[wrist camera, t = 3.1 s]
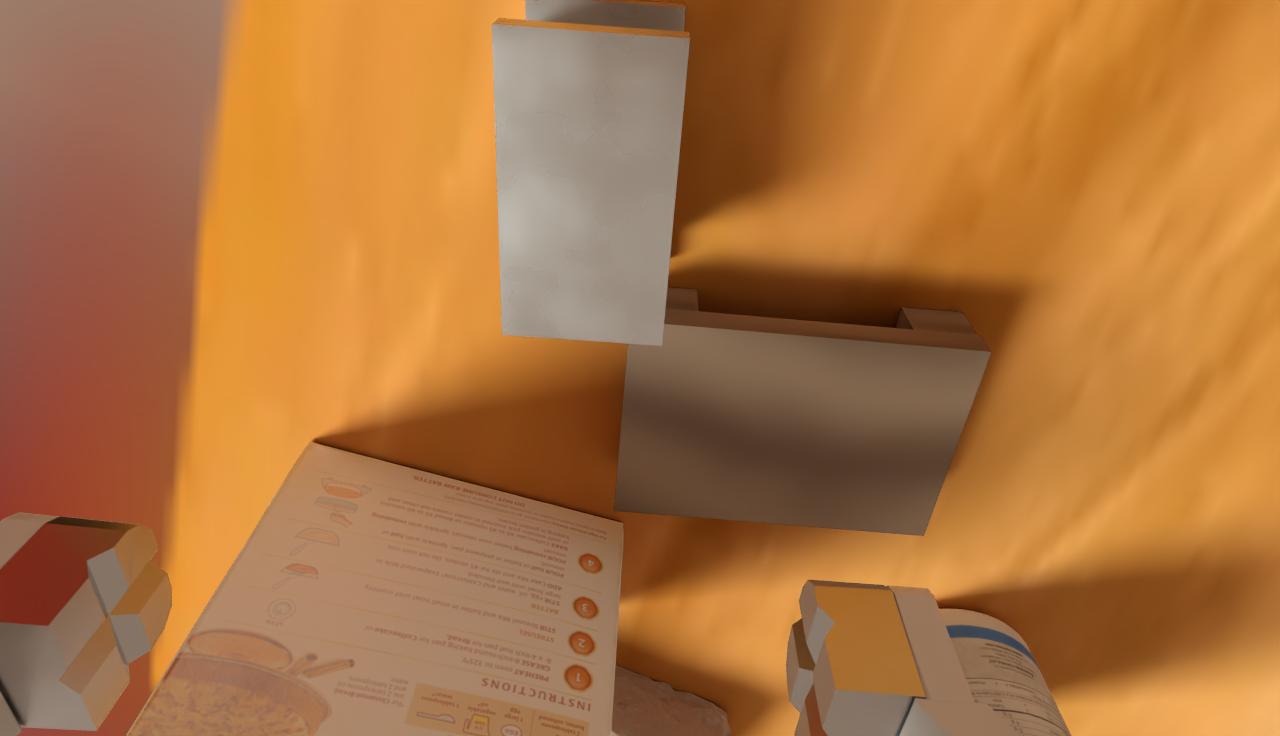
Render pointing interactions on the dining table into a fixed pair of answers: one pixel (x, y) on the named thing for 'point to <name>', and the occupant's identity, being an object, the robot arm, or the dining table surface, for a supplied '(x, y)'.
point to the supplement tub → (1003, 673)
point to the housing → (588, 166)
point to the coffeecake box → (402, 614)
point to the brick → (661, 709)
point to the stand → (796, 417)
